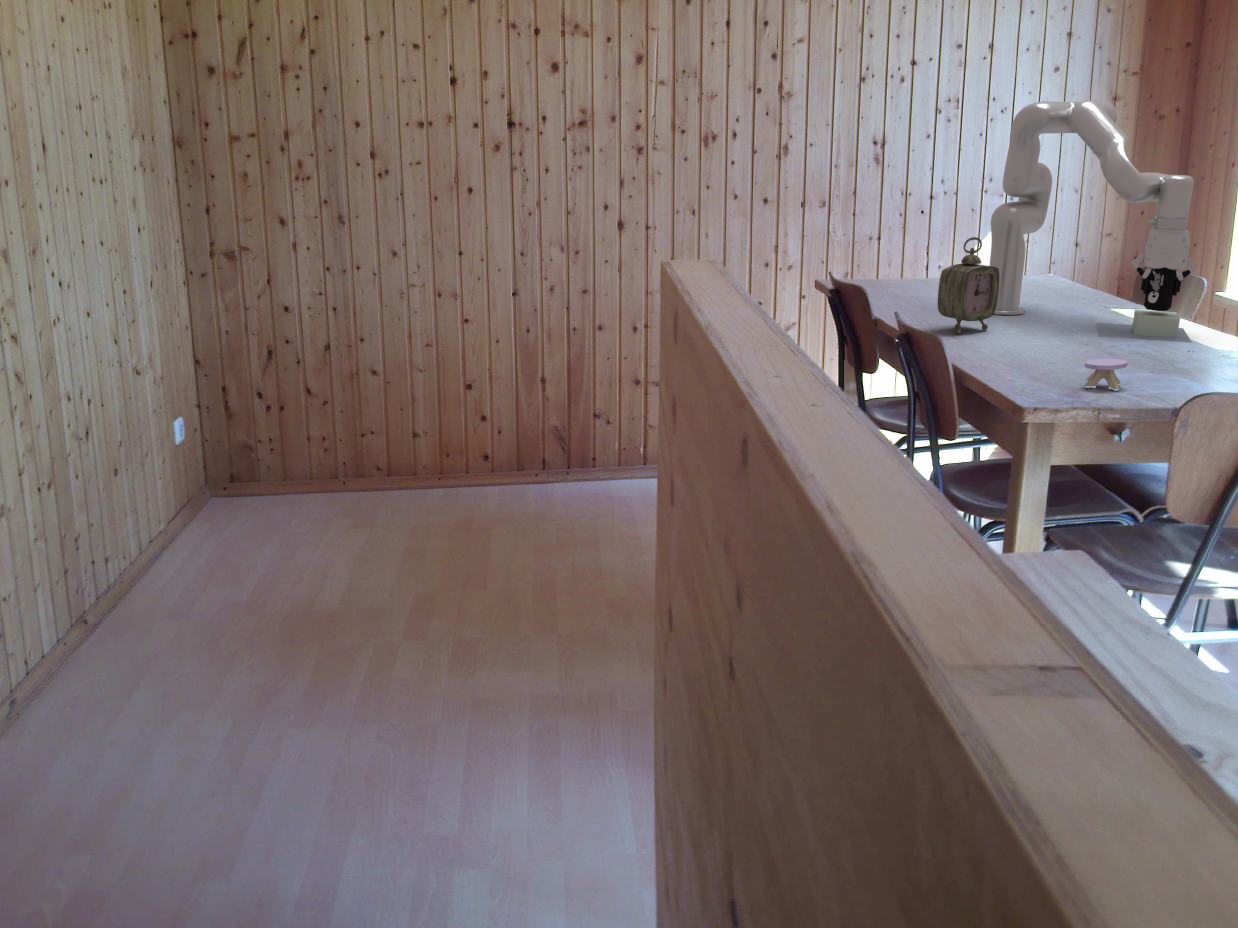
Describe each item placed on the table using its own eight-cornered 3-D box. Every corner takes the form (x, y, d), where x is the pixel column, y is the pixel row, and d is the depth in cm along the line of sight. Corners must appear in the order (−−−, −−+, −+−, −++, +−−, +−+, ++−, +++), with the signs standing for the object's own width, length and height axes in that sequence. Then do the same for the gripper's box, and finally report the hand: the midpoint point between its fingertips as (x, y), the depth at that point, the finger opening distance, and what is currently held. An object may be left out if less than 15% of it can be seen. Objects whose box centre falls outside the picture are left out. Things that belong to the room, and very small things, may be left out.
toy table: (1112, 381, 250) (1115, 356, 248) (1135, 391, 241) (1139, 365, 240) (1071, 383, 248) (1074, 357, 247) (1093, 393, 240) (1097, 367, 238)
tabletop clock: (958, 336, 296) (967, 240, 289) (931, 330, 304) (940, 237, 296) (994, 330, 304) (1004, 237, 296) (967, 325, 311) (977, 234, 304)
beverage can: (1173, 312, 292) (1181, 265, 288) (1146, 310, 293) (1153, 264, 289) (1166, 307, 298) (1174, 262, 294) (1140, 306, 299) (1147, 261, 296)
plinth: (1135, 335, 294) (1137, 316, 293) (1132, 328, 303) (1134, 309, 302) (1177, 337, 291) (1180, 318, 290) (1172, 330, 300) (1175, 312, 299)
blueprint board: (1098, 339, 293) (1099, 336, 293) (1094, 326, 311) (1095, 322, 311) (1191, 346, 286) (1192, 342, 286) (1182, 331, 304) (1182, 328, 304)
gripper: (1135, 224, 288) (1124, 294, 294) (1209, 227, 283) (1197, 298, 288) (1132, 221, 295) (1122, 289, 300) (1205, 224, 289) (1194, 294, 295)
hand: (1159, 293), depth 294 cm, fingers closed on beverage can, 6 cm apart
